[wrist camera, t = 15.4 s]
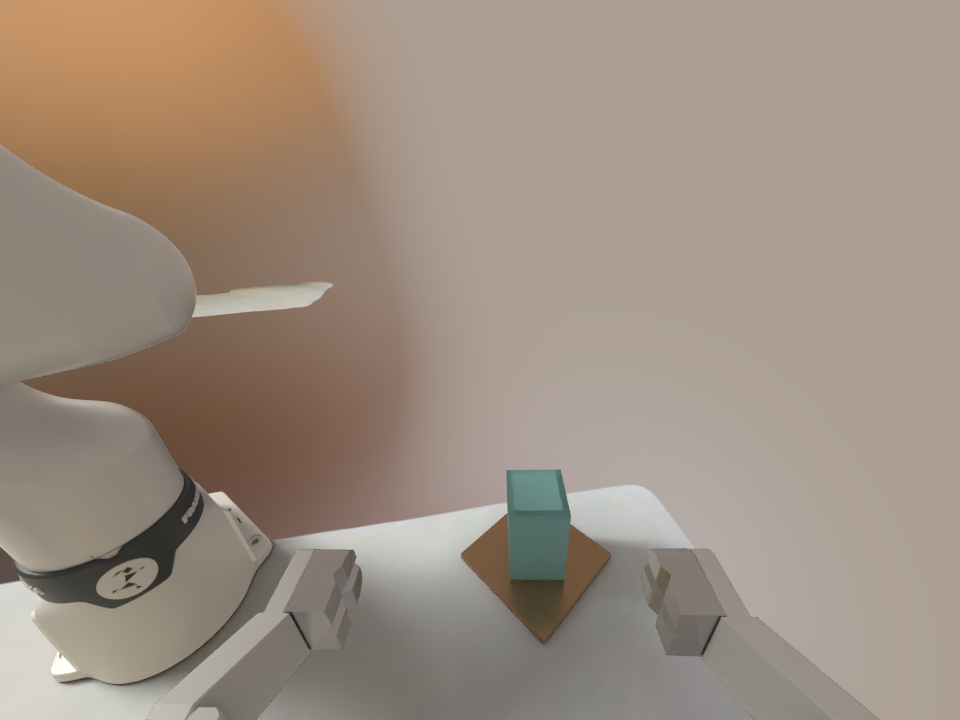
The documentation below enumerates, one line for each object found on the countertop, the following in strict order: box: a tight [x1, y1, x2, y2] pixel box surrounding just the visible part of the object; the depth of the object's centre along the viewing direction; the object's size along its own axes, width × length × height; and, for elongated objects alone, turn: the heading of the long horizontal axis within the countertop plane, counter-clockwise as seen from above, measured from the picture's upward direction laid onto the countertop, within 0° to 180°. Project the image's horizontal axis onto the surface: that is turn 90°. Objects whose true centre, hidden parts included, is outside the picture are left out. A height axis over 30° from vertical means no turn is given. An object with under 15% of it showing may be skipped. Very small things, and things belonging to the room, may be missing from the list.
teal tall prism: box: [507, 470, 571, 580], centre depth 38 cm, size 6×6×10 cm
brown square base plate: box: [461, 513, 611, 644], centre depth 39 cm, size 17×17×8 cm
